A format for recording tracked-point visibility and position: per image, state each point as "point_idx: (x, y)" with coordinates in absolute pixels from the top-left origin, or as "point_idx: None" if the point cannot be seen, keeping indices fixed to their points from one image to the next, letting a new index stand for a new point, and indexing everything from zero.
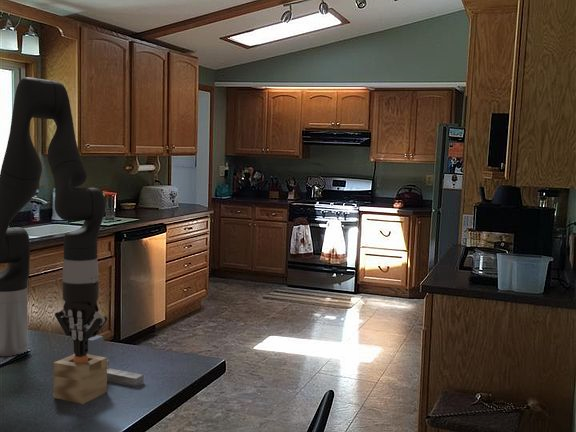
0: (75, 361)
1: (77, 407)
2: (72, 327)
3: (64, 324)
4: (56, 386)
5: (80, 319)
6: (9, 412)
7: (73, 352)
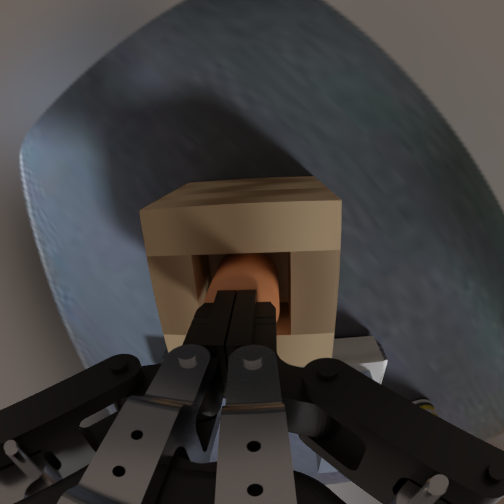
0: (245, 265)
1: (185, 154)
2: (245, 416)
3: (380, 430)
4: (307, 182)
5: (102, 489)
6: (342, 29)
7: (434, 412)
